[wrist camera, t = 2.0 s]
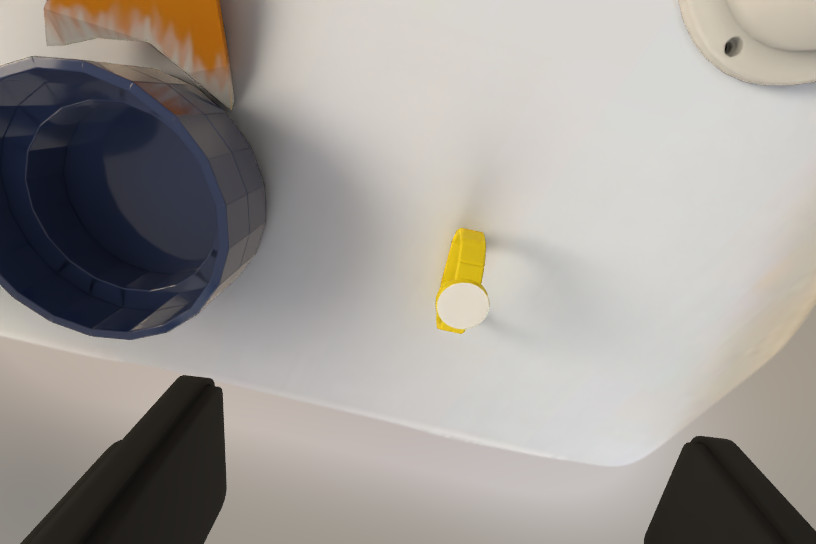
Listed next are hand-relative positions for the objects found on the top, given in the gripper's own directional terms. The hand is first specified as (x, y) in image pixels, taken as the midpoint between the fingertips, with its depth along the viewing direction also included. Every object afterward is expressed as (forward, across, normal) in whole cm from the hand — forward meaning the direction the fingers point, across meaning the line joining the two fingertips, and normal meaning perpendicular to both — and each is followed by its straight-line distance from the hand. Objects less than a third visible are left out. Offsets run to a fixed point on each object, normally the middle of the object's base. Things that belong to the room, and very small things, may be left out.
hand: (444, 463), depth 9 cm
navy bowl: (+20, +17, 0) cm, 26 cm away
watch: (+20, -2, +2) cm, 20 cm away
